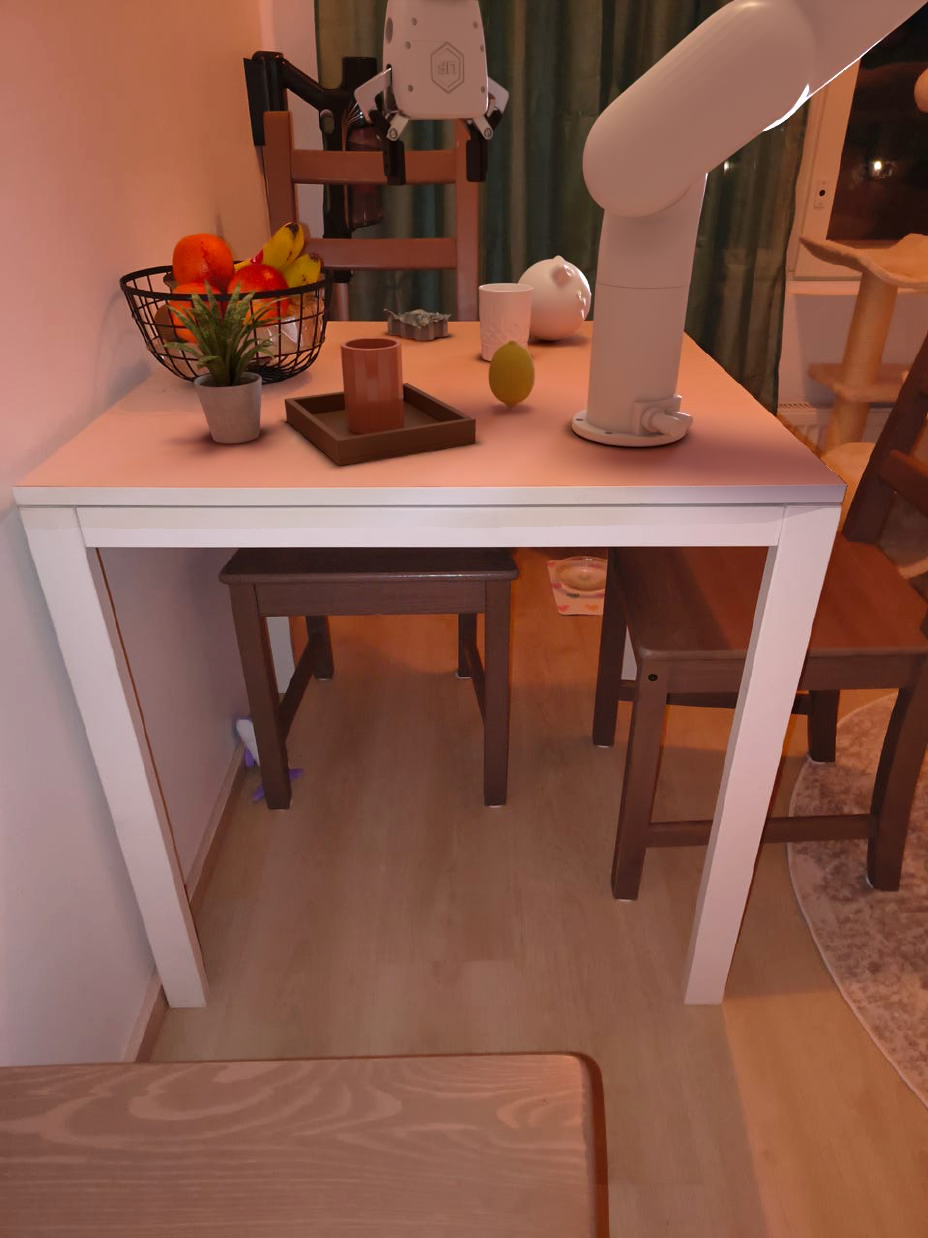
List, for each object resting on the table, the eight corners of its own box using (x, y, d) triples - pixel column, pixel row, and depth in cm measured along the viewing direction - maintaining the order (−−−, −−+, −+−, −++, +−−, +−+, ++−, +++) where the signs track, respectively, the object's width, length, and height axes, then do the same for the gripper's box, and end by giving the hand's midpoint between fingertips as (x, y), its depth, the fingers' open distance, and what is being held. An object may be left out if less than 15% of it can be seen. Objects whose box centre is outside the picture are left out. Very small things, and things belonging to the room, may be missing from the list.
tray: (475, 442, 89) (475, 419, 88) (339, 466, 83) (337, 440, 82) (408, 403, 103) (407, 382, 101) (286, 420, 96) (284, 398, 95)
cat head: (508, 330, 143) (510, 253, 137) (584, 331, 142) (590, 253, 136) (507, 349, 130) (509, 264, 124) (591, 349, 129) (597, 265, 123)
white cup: (531, 352, 128) (533, 283, 123) (529, 364, 121) (532, 291, 116) (480, 351, 128) (480, 282, 123) (475, 363, 121) (476, 290, 116)
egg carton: (380, 333, 141) (379, 308, 139) (414, 327, 145) (413, 303, 143) (421, 342, 134) (421, 316, 132) (455, 335, 139) (455, 310, 137)
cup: (413, 429, 91) (410, 345, 87) (359, 438, 89) (353, 352, 84) (390, 415, 96) (386, 335, 92) (338, 422, 94) (332, 340, 89)
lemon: (482, 412, 99) (482, 343, 95) (496, 400, 104) (497, 334, 100) (526, 416, 98) (528, 346, 94) (538, 404, 102) (541, 337, 98)
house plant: (287, 461, 84) (268, 290, 76) (153, 460, 84) (119, 290, 76) (312, 420, 96) (298, 270, 88) (195, 420, 97) (170, 270, 89)
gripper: (365, -31, 73) (378, 187, 82) (527, -18, 81) (524, 181, 89) (333, -17, 79) (348, 185, 87) (487, -6, 86) (487, 180, 95)
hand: (437, 183), depth 88 cm, fingers open, 9 cm apart
